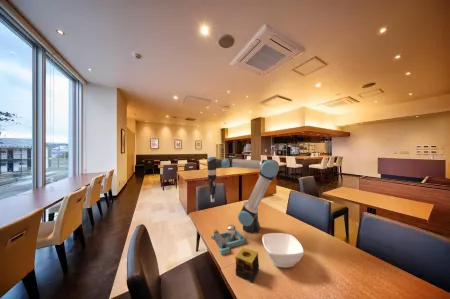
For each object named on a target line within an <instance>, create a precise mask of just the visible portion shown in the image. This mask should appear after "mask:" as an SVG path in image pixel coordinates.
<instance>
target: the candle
mask: <svg viewBox="0 0 450 299" xmlns="http://www.w3.org/2000/svg"><path fill="white" fill-rule="evenodd" d="M234 259H235V275H236V277H237V276H238V277H239V278H242V279H244V280H246V281H248V282H250V283H254V281H255V279H256V277H257V274H258V273H259V270H260V269H259V268H260V265H259V264H260V262H259V252H257V251H255V250H252V249H249V248H245V247H242V248H241V249H240V251H239V252H238V253H237V254H236V255H235V258H234Z"/></svg>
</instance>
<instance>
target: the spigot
mask: <svg viewBox="0 0 450 299" xmlns="http://www.w3.org/2000/svg"><path fill="white" fill-rule="evenodd" d="M226 228H227V232H228V236H227V237H228V241H229V242H233V241H235V240H236V237H237V235H236V234H235V230H236V225H234V224H228V225H227V227H226Z"/></svg>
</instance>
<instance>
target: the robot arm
mask: <svg viewBox="0 0 450 299" xmlns="http://www.w3.org/2000/svg"><path fill="white" fill-rule="evenodd" d="M206 163H207V164H206V165H207V171H206V173H207V180H209V181H208V186H209V188H208V189H209V193H210V203H215V195H216V186H217V183H216V181H215V180H217V169H228V168H229V167H230V168H240V169H250V170H259V172H258V179H257V180H256V183H255V185H254V187H253V189H252V192H251V194H250V195H249V197H248V200H247V201H244V203H243V206H242V208H241V210H240V212H239V213H238V214H237V215H238V216H237V220H238V222H239V223H240V224H241V225H242V230H243V231H244V232H245V233H248V234H257V233H259V232H260V231H261V224H260V222H259V210H258V209H259V206H260V204H261V201H262V199H263V198H264V195H265V193H266V191H267V189H268V187H269V185H270V183H271V182H273V181H274V180H275V178H276V176H277V174H278V172H279V170H280V164H279V162H278V161H277V160H275V159H262V160H257V159H256V160H254V159H240V158H230V157H229V158H228V157H226V158H217V157H216V156H207V161H206Z"/></svg>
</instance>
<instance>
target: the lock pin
mask: <svg viewBox="0 0 450 299" xmlns="http://www.w3.org/2000/svg"><path fill="white" fill-rule="evenodd" d="M223 238H224V237H222V236H221V235H220V232H219V229H213V240H214V242H215V243H216V245H217V247H218V248H219V249H220V248H221V249H224V248H226V241H225V240H224V239H223Z"/></svg>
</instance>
